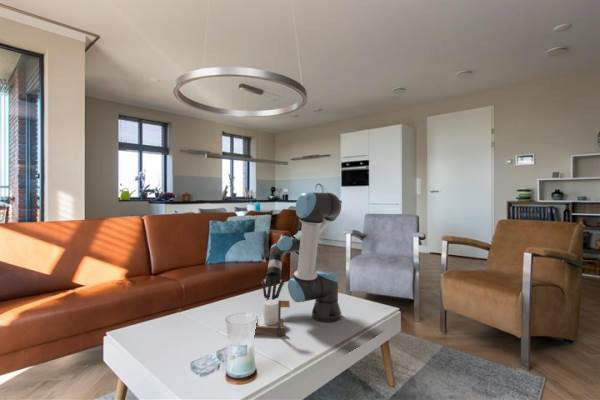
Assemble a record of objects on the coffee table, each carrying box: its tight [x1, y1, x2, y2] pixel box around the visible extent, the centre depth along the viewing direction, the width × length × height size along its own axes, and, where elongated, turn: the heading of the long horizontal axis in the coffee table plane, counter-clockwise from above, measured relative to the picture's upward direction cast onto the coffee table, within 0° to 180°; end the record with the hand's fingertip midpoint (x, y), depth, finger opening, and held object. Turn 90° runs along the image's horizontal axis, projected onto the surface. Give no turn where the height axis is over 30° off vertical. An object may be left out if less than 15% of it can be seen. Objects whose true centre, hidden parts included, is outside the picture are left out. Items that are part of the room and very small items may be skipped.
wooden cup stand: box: [254, 299, 290, 338], centre depth 149 cm, size 12×20×16 cm, turn 86°
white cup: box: [262, 299, 279, 326], centre depth 158 cm, size 8×8×10 cm
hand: (269, 310), depth 163 cm, fingers closed
